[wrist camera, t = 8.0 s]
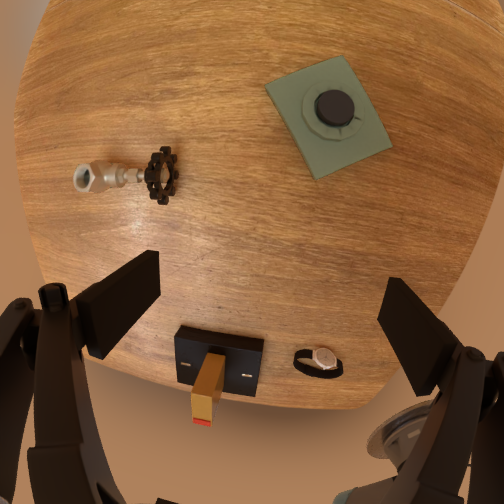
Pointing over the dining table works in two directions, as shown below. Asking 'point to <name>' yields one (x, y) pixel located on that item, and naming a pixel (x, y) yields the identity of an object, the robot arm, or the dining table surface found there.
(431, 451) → the robot arm
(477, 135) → the dining table surface
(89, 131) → the dining table surface
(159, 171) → the valve
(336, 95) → the bell button
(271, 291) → the dining table surface
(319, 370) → the watch
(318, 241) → the dining table surface
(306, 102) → the doorbell
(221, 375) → the lock knob
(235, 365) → the plate
